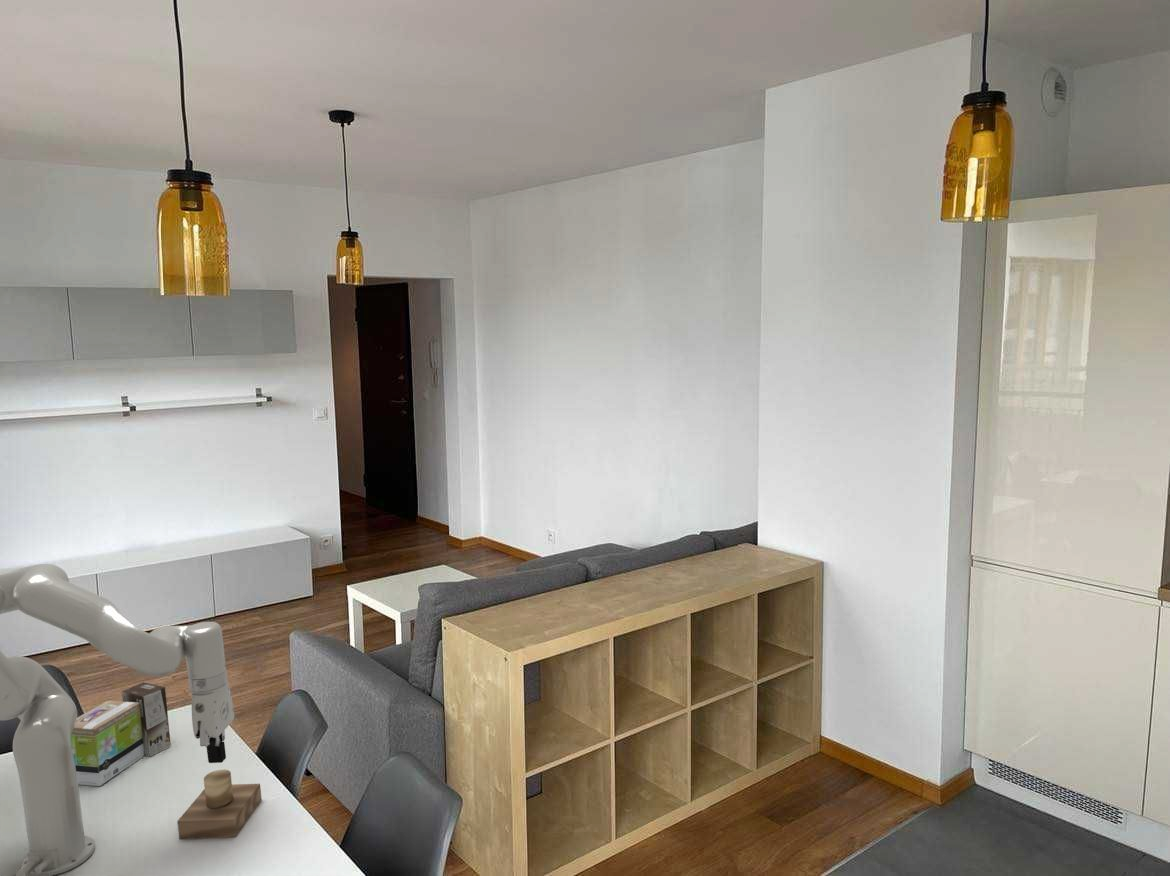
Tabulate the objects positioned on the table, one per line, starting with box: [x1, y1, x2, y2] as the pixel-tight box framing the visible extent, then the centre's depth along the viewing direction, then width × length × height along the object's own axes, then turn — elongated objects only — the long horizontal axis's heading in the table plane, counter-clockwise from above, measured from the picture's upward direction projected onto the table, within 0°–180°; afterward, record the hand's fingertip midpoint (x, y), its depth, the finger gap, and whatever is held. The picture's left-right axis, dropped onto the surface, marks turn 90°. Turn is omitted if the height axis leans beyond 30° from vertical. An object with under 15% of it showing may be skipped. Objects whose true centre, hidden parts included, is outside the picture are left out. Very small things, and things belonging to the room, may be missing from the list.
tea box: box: [71, 700, 145, 787], centre depth 206 cm, size 15×10×15 cm
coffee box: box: [121, 682, 172, 757], centre depth 217 cm, size 9×6×16 cm
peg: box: [203, 769, 233, 809], centre depth 183 cm, size 5×5×10 cm
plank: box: [176, 783, 263, 840], centre depth 184 cm, size 14×12×4 cm
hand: (217, 760), depth 182 cm, fingers closed
